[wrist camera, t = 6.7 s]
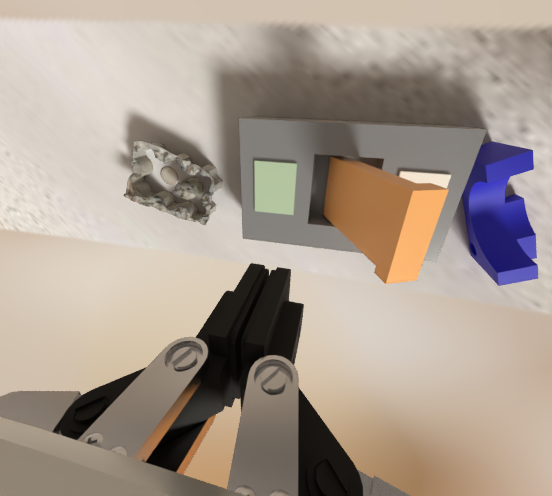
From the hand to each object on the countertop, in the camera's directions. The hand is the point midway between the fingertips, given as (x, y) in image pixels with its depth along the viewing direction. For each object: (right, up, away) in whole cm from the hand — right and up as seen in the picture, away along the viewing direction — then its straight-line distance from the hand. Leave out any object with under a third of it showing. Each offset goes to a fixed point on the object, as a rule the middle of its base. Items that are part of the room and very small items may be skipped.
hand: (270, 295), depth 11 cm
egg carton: (-11, +11, +22) cm, 27 cm away
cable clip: (+22, +7, +16) cm, 28 cm away
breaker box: (+8, +9, +18) cm, 21 cm away
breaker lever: (+6, +8, +16) cm, 19 cm away
